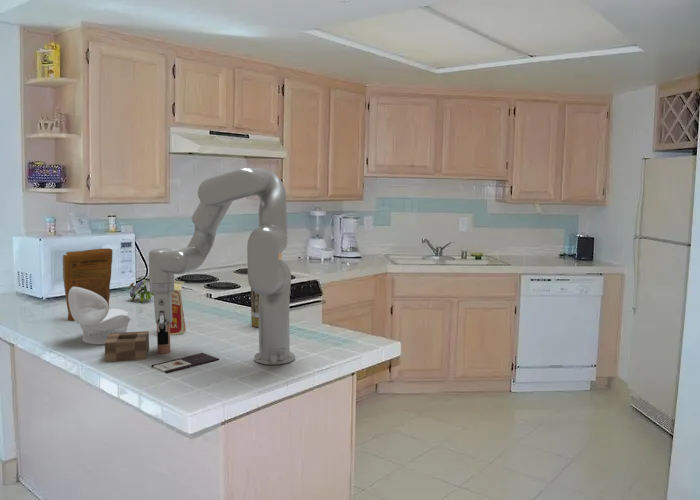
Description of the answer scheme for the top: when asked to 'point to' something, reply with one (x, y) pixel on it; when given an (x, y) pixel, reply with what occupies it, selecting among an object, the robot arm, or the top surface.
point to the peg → (166, 347)
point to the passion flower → (140, 291)
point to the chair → (95, 316)
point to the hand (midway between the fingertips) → (163, 340)
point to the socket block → (127, 346)
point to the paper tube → (254, 309)
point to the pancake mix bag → (88, 273)
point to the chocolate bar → (184, 362)
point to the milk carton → (177, 311)
